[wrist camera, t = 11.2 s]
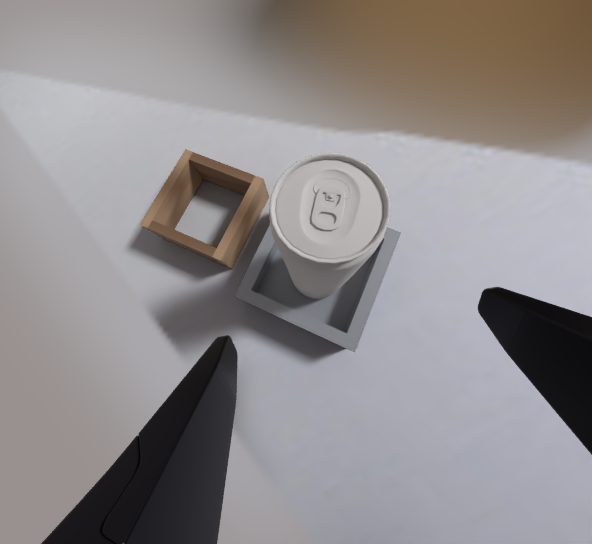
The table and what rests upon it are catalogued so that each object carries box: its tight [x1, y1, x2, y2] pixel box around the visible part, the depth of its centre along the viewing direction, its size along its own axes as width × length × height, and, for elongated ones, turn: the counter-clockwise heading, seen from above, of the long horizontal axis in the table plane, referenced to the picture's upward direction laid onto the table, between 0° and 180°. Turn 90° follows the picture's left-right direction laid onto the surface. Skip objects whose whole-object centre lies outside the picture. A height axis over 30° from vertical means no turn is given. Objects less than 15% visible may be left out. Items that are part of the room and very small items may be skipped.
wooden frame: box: [140, 149, 269, 269], centre depth 22 cm, size 8×8×3 cm
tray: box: [234, 225, 401, 352], centre depth 20 cm, size 10×10×3 cm
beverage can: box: [269, 153, 390, 299], centre depth 15 cm, size 5×5×12 cm
